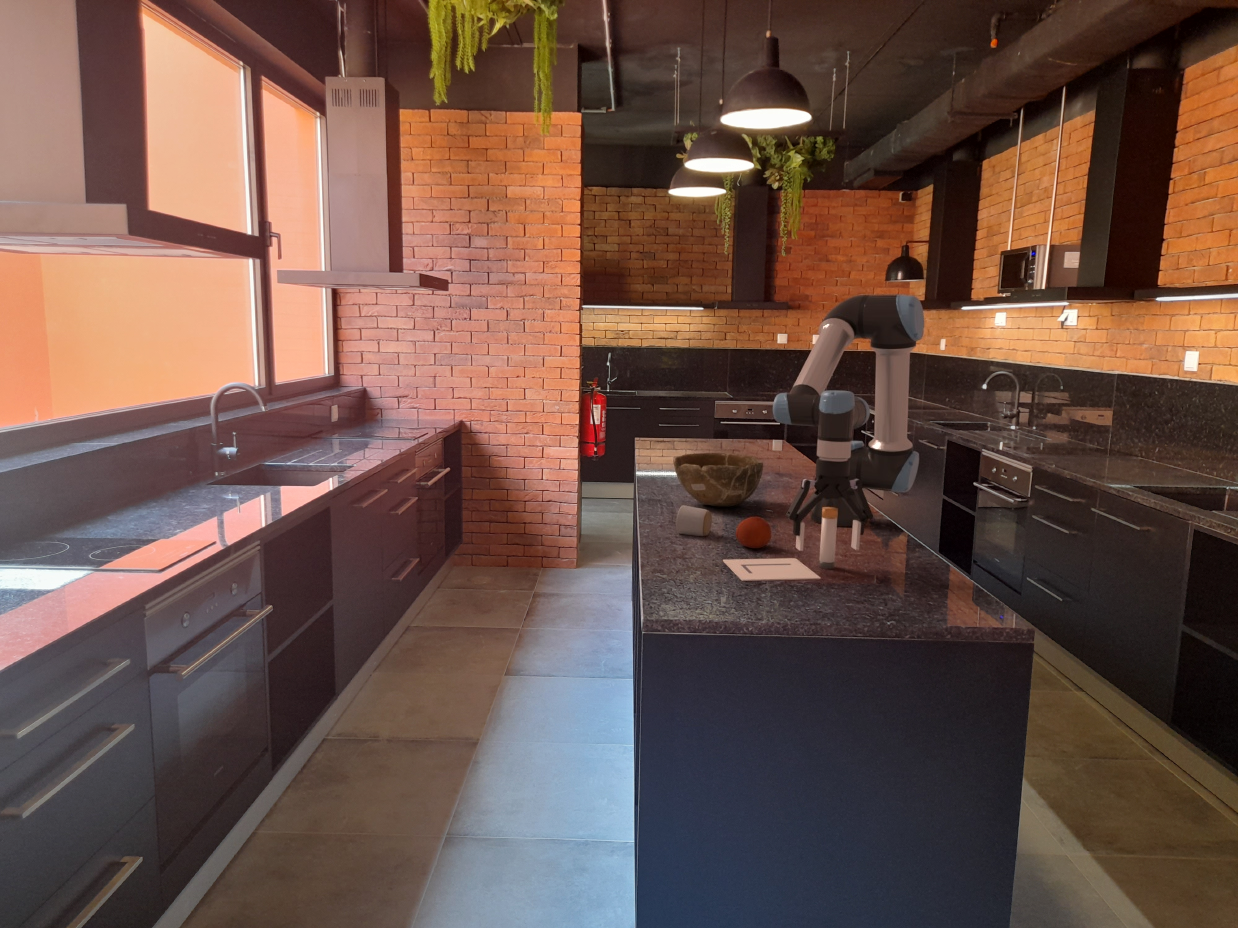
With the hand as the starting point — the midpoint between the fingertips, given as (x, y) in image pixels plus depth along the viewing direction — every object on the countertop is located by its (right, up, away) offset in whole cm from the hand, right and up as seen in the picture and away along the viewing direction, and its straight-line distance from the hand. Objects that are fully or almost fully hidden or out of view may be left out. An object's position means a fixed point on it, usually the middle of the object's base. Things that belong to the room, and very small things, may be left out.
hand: (827, 549), depth 196 cm
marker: (0, -4, +1) cm, 4 cm away
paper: (-14, -5, -2) cm, 15 cm away
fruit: (-15, -2, +18) cm, 23 cm away
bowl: (-18, +7, +66) cm, 69 cm away
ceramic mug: (-28, +1, +30) cm, 42 cm away
